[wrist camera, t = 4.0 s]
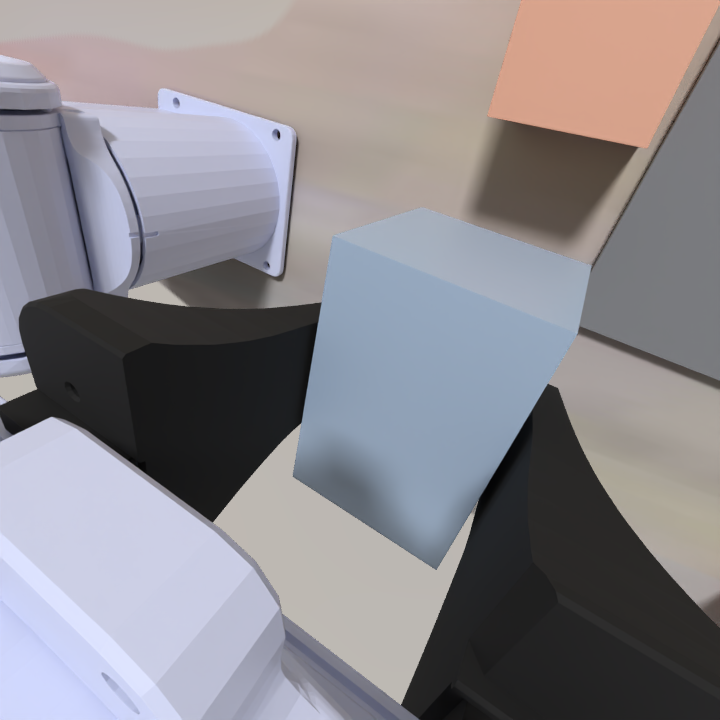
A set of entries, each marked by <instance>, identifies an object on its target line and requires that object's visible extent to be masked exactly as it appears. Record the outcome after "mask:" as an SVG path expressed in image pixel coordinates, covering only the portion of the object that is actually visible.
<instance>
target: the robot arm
mask: <svg viewBox="0 0 720 720" xmlns="http://www.w3.org/2000/svg"><path fill="white" fill-rule="evenodd" d="M179 103H180V106H179ZM158 106H159V109H157V108H144V107H132V106H119V105H106V104H94V103H81V102H68V101H61V95H60V90H59V87H58V86H57V85H56V84H55V83H54V82H52V81H50V80H48V79H46V77H45V76H44V75H43V74H42V73H41V72H40V71H39V70H38V69H37V68H36V67H35V66H33V65H32V64H31V63H29V62H26V61H23V60H20V59H16V58H12V57H7V56H3V55H0V377H10V376H17V375H22V374H28V373H32V375H33V378H34V381H35V384H36V387H37V390H34V391H32V392H30V393H27V394H25V395H23V396H20V397H18V398H16V399H13V400H11V401H9V402H7V401H6V400H5V399H3V398H2V397H1V396H0V720H720V628H719V627H718V626H717V625H716V624H715V623H714V622H713V621H712V620H711V619H710V618H709V617H708V616H707V615H706V614H705V613H704V612H703V611H702V610H701V609H700V608H699V607H698V606H697V605H696V603H695V602H694V601H693V600H692V599H691V598H690V597H689V596H688V595H687V594H686V592H685V591H684V590H683V589H682V588H681V587H680V586H679V585H678V584H677V583H676V581H675V580H674V579H673V578H672V577H671V576H670V575H669V574H668V573H667V571H666V570H665V569H664V568H663V567H662V566H661V564H660V563H659V562H658V561H657V560H656V559H655V557H654V556H653V555H652V554H651V553H650V551H649V550H648V549H647V548H646V546H645V545H644V544H643V542H642V541H641V540H640V539H639V537H638V536H637V535H636V533H635V532H634V531H633V530H632V528H631V527H630V526H629V524H628V523H627V522H626V520H625V519H624V518H623V516H622V515H621V513H620V512H619V511H618V509H617V508H616V506H615V505H614V503H613V502H612V500H611V498H610V497H609V495H608V494H607V492H606V491H605V489H604V488H603V486H602V485H601V483H600V481H599V480H598V478H597V476H596V475H595V473H594V471H593V469H592V467H591V465H590V463H589V461H588V460H587V458H586V456H585V454H584V452H583V450H582V448H581V446H580V444H579V441H578V439H577V437H576V435H575V432H574V430H573V428H572V425H571V423H570V420H569V417H568V415H567V412H566V409H565V406H564V404H563V401H562V398H561V395H560V393H559V390H558V388H556V387H554V386H552V385H549V384H547V386H546V387H545V389H544V391H543V392H542V394H541V396H540V397H539V399H538V401H537V402H536V404H535V406H534V407H533V409H532V411H531V412H530V414H529V416H528V417H527V419H526V421H525V422H524V424H523V426H522V427H521V429H520V431H519V433H518V434H517V436H516V438H515V439H514V441H513V443H512V444H511V446H510V448H509V449H508V451H507V453H506V454H505V456H504V458H503V459H502V461H501V463H500V464H499V466H498V468H497V469H496V471H495V473H494V474H493V476H492V478H491V479H490V481H489V483H488V484H487V486H486V488H485V489H484V491H483V493H482V494H481V496H480V498H479V501H478V505H477V508H476V512H475V516H474V519H473V523H472V527H471V531H470V535H469V538H468V541H467V544H466V547H465V550H464V553H463V555H462V558H461V560H460V563H459V565H458V568H457V570H456V573H455V575H454V578H453V580H452V583H451V586H450V588H449V591H448V593H447V595H446V598H445V600H444V603H443V605H442V608H441V610H440V613H439V615H438V618H437V620H436V623H435V625H434V628H433V630H432V633H431V635H430V638H429V640H428V642H427V645H426V647H425V649H424V652H423V654H422V657H421V659H420V661H419V664H418V666H417V669H416V671H415V674H414V676H413V678H412V681H411V683H410V685H409V688H408V690H407V692H406V695H405V697H404V699H403V702H402V704H401V705H400V704H398V703H397V702H396V701H395V700H393V699H392V698H391V697H389V696H388V695H387V694H386V693H384V692H383V691H382V690H380V689H379V688H378V687H376V686H375V685H374V684H372V683H371V682H370V681H369V680H367V679H366V678H365V677H364V676H362V675H361V674H360V673H358V672H357V671H356V670H354V669H353V668H352V667H351V666H349V665H348V664H346V663H345V662H344V661H343V660H342V659H340V658H339V657H338V656H336V655H335V654H334V653H332V652H331V651H330V650H329V649H327V648H326V647H325V646H323V645H322V644H321V643H319V642H318V641H317V640H316V639H314V638H313V637H312V636H310V635H309V634H308V633H307V632H305V631H304V630H303V629H301V628H300V627H299V626H297V625H296V624H295V623H293V622H292V621H291V620H290V619H288V618H287V617H286V616H284V615H283V614H282V611H281V605H280V600H279V596H278V595H277V593H276V591H275V590H274V588H273V587H272V585H271V584H270V582H269V581H268V579H267V578H266V576H265V575H264V573H263V572H262V570H261V569H260V567H259V566H258V564H257V563H256V561H255V560H254V559H253V558H251V556H250V555H248V554H247V553H246V552H245V551H244V550H243V549H242V548H241V547H240V546H239V545H238V544H237V543H236V542H234V540H232V539H231V538H230V537H229V536H228V535H227V534H226V533H225V532H224V531H223V530H222V529H220V528H219V527H218V526H216V525H215V524H213V522H214V520H215V519H216V518H217V517H218V515H219V514H220V513H221V512H222V510H223V509H224V508H225V507H226V505H227V504H228V503H229V502H230V500H231V499H232V498H233V497H234V496H235V494H236V493H237V492H238V491H239V489H240V488H241V487H242V486H243V484H245V482H246V481H247V480H248V479H249V478H250V477H251V475H252V474H253V473H254V472H255V471H256V469H257V468H258V467H259V466H260V465H261V464H262V463H263V461H264V460H265V459H266V458H267V457H268V456H269V455H270V454H271V453H272V452H273V450H274V449H275V448H276V447H277V446H278V445H279V444H280V443H281V442H282V441H283V439H285V438H286V437H287V435H289V434H290V433H291V432H292V431H293V430H294V429H295V428H296V427H297V426H298V425H300V424H301V423H302V417H303V411H304V406H305V400H306V394H307V388H308V382H309V376H310V370H311V364H312V358H313V352H314V346H315V340H316V334H317V328H318V322H319V316H320V310H321V304H322V302H321V303H314V304H306V305H298V306H288V307H277V308H265V309H215V308H200V307H186V306H178V305H169V304H161V303H155V302H149V301H143V300H137V299H131V298H128V290H129V289H133V288H136V287H140V286H143V285H146V284H149V283H153V282H156V281H159V280H163V279H166V278H169V277H173V276H176V275H179V274H182V273H186V272H189V271H192V270H196V269H199V268H202V267H205V266H209V265H212V264H215V263H219V262H222V261H225V260H229V259H232V258H234V259H236V260H239V261H241V262H243V263H245V264H247V265H249V266H252V267H254V268H256V269H258V270H260V271H263V272H265V273H267V274H269V275H271V276H275V277H276V276H279V275H281V274H282V273H283V269H284V259H285V249H286V239H287V229H288V219H289V210H290V200H291V190H292V180H293V170H294V160H295V150H296V140H297V139H296V133H295V131H294V129H293V128H292V127H290V126H287V125H284V124H281V123H277V122H274V121H271V120H268V119H264V118H261V117H258V116H255V115H251V114H248V113H245V112H241V111H238V110H235V109H232V108H228V107H225V106H222V105H219V104H215V103H212V102H209V101H206V100H202V99H199V98H196V97H193V96H189V95H186V94H183V93H180V92H176V91H173V90H170V89H164V88H161V89H160V90H159V93H158ZM278 130H279V132H280V139H278V137H277V132H278ZM267 262H268V263H269V265H270V268H269V267H268V264H267Z"/></svg>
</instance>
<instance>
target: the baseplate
mask: <svg viewBox="0 0 720 720" xmlns="http://www.w3.org/2000/svg"><path fill="white" fill-rule="evenodd" d="M579 326H581V327H583V328H586V329H588V330H591V331H593V332H596V333H599V334H601V335H604V336H606V337H609V338H611V339H614V340H617V341H619V342H622V343H624V344H627V345H629V346H632V347H635V348H637V349H640V350H642V351H645V352H647V353H650V354H653V355H655V356H658V357H660V358H663V359H665V360H668V361H671V362H673V363H676V364H678V365H681V366H683V367H686V368H689V369H691V370H694V371H696V372H699V373H701V374H704V375H707V376H709V377H712V378H714V379H717V380H719V381H720V40H719V42H718V44H717V46H716V48H715V49H714V51H713V53H712V55H711V57H710V58H709V60H708V62H707V64H706V66H705V67H704V69H703V71H702V73H701V74H700V76H699V78H698V80H697V82H696V83H695V85H694V87H693V89H692V91H691V92H690V94H689V96H688V98H687V99H686V101H685V103H684V105H683V107H682V108H681V110H680V112H679V114H678V116H677V117H676V119H675V121H674V123H673V124H672V126H671V128H670V130H669V132H668V133H667V135H666V137H665V139H664V141H663V142H662V144H661V146H660V148H659V149H658V151H657V153H656V155H655V157H654V158H653V160H652V162H651V164H650V166H649V167H648V169H647V171H646V173H645V175H644V176H643V178H642V180H641V182H640V183H639V185H638V187H637V189H636V191H635V192H634V194H633V196H632V198H631V200H630V201H629V203H628V205H627V207H626V208H625V210H624V212H623V214H622V216H621V217H620V219H619V221H618V223H617V225H616V226H615V228H614V230H613V232H612V233H611V235H610V237H609V239H608V241H607V242H606V244H605V246H604V248H603V250H602V251H601V253H600V255H599V257H598V259H597V260H596V262H595V264H594V266H593V267H592V269H591V271H590V276H589V280H588V285H587V290H586V295H585V300H584V305H583V310H582V314H581V319H580V324H579Z"/></svg>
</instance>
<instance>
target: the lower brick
mask: <svg viewBox="0 0 720 720" xmlns="http://www.w3.org/2000/svg"><path fill="white" fill-rule="evenodd" d="M590 271H591V265H588V264H586V263H583V262H580V261H577V260H574V259H571V258H568V257H565V256H562V255H559V254H557V253H554V252H551V251H548V250H545V249H542V248H539V247H536V246H533V245H530V244H528V243H525V242H522V241H519V240H516V239H513V238H510V237H507V236H504V235H501V234H499V233H496V232H493V231H490V230H487V229H484V228H481V227H478V226H475V225H472V224H470V223H467V222H464V221H461V220H458V219H455V218H452V217H449V216H446V215H443V214H441V213H438V212H435V211H432V210H429V209H426V208H423V207H421V208H418V209H415V210H412V211H409V212H405V213H402V214H399V215H396V216H393V217H390V218H387V219H383V220H380V221H377V222H374V223H371V224H368V225H365V226H361V227H358V228H355V229H352V230H349V231H346V232H343V233H339V234H336V235H333V238H332V244H331V250H330V256H329V262H328V268H327V274H326V280H325V286H324V292H323V298H322V304H321V310H320V316H319V322H318V328H317V334H316V340H315V346H314V352H313V358H312V364H311V370H310V376H309V382H308V388H307V394H306V400H305V406H304V411H303V417H302V423H301V429H300V435H299V442H298V447H297V453H296V460H295V465H294V472H293V477H294V478H296V479H297V480H299V481H300V482H302V483H303V484H305V485H307V486H308V487H310V488H311V489H313V490H314V491H316V492H318V493H319V494H320V495H322V496H324V497H325V498H326V499H328V500H330V501H331V502H333V503H334V504H336V505H337V506H339V507H340V508H342V509H343V510H345V511H346V512H348V513H350V514H351V515H353V516H354V517H356V518H357V519H359V520H361V521H362V522H363V523H365V524H366V525H368V526H369V527H371V528H373V529H374V530H376V531H377V532H379V533H380V534H382V535H383V536H385V537H386V538H388V539H390V540H391V541H392V542H394V543H396V544H397V545H399V546H400V547H402V548H404V549H405V550H406V551H408V552H409V553H411V554H412V555H414V556H416V557H417V558H419V559H420V560H422V561H423V562H425V563H426V564H428V565H429V566H431V567H432V568H434V569H436V570H437V568H438V566H439V565H440V563H441V561H442V560H443V558H444V556H445V555H446V553H447V551H448V550H449V548H450V546H451V545H452V543H453V541H454V540H455V538H456V536H457V535H458V533H459V531H460V530H461V528H462V526H463V525H464V523H465V521H466V520H467V518H468V516H469V515H470V513H471V511H472V510H473V508H474V506H475V505H476V503H477V501H478V500H479V498H480V496H481V494H482V493H483V491H484V489H485V488H486V486H487V484H488V483H489V481H490V479H491V478H492V476H493V474H494V473H495V471H496V469H497V468H498V466H499V464H500V463H501V461H502V459H503V458H504V456H505V454H506V453H507V451H508V449H509V448H510V446H511V444H512V443H513V441H514V439H515V438H516V436H517V434H518V433H519V431H520V429H521V427H522V426H523V424H524V422H525V421H526V419H527V417H528V416H529V414H530V412H531V411H532V409H533V407H534V406H535V404H536V402H537V401H538V399H539V397H540V396H541V394H542V392H543V391H544V389H545V387H546V386H547V384H548V382H549V381H550V379H551V377H552V376H553V374H554V372H555V371H556V369H557V367H558V366H559V364H560V362H561V360H562V359H563V357H564V355H565V354H566V352H567V350H568V349H569V347H570V345H571V344H572V342H573V340H574V339H575V337H576V335H577V334H578V329H579V324H580V319H581V314H582V310H583V305H584V300H585V295H586V290H587V285H588V280H589V276H590Z"/></svg>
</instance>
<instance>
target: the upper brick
mask: <svg viewBox="0 0 720 720" xmlns="http://www.w3.org/2000/svg"><path fill="white" fill-rule="evenodd" d="M719 4H720V0H521V3H520V6H519V10H518V13H517V17H516V20H515V23H514V27H513V30H512V34H511V37H510V40H509V44H508V47H507V51H506V54H505V57H504V61H503V64H502V68H501V71H500V74H499V78H498V81H497V84H496V88H495V91H494V95H493V98H492V101H491V105H490V108H489V112H488V115H487V116H488V117H493V118H497V119H502V120H506V121H511V122H516V123H521V124H526V125H530V126H535V127H540V128H545V129H550V130H555V131H560V132H565V133H570V134H575V135H580V136H585V137H590V138H595V139H600V140H605V141H610V142H615V143H620V144H625V145H630V146H635V147H640V148H648V146H649V144H650V142H651V140H652V138H653V136H654V134H655V132H656V130H657V128H658V126H659V124H660V122H661V120H662V118H663V116H664V114H665V112H666V110H667V108H668V106H669V104H670V102H671V100H672V98H673V96H674V94H675V92H676V90H677V88H678V86H679V84H680V82H681V80H682V78H683V76H684V74H685V72H686V70H687V68H688V66H689V64H690V62H691V60H692V58H693V56H694V54H695V52H696V50H697V48H698V46H699V44H700V42H701V40H702V38H703V36H704V34H705V32H706V30H707V28H708V26H709V24H710V22H711V20H712V18H713V16H714V14H715V12H716V10H717V8H718V6H719Z"/></svg>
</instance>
